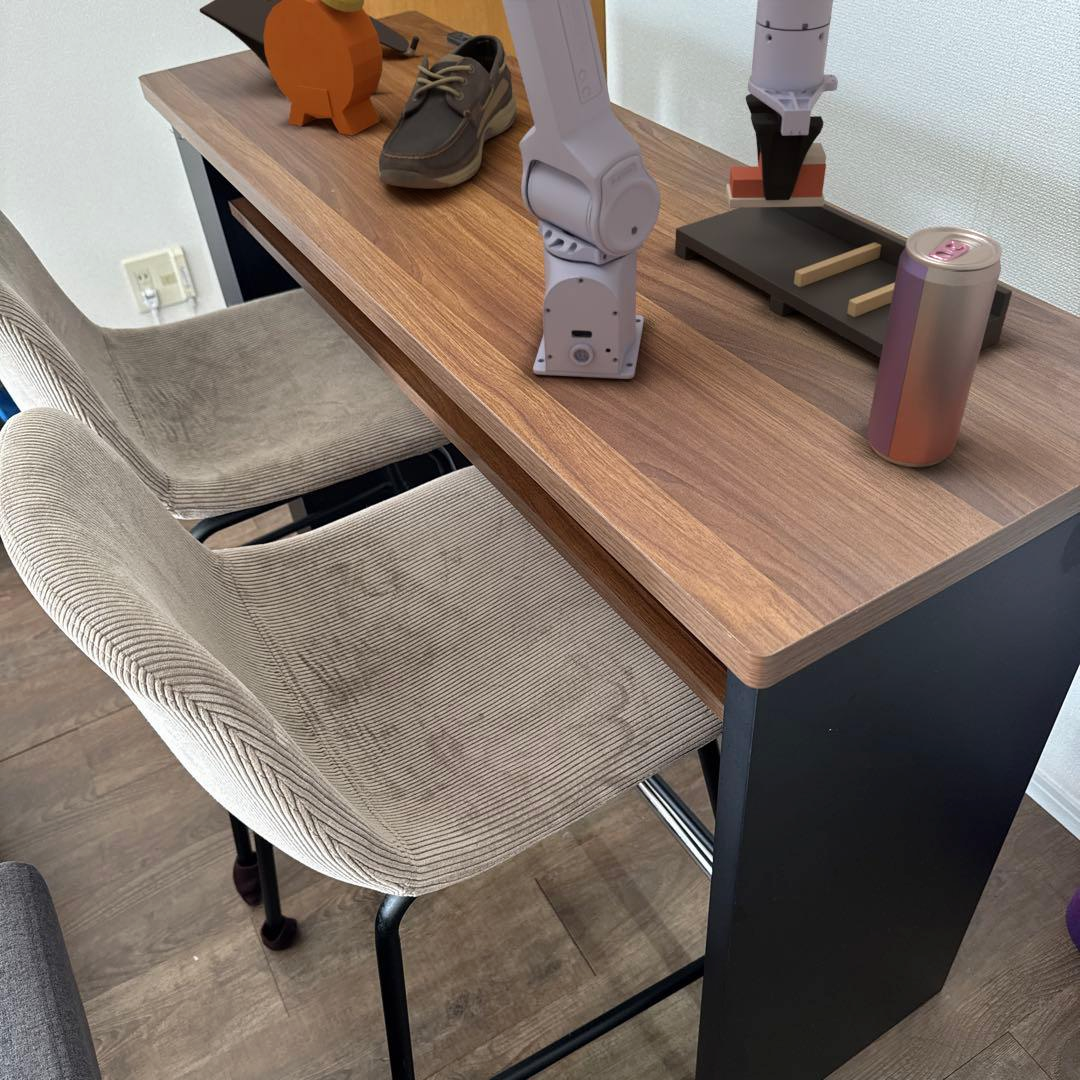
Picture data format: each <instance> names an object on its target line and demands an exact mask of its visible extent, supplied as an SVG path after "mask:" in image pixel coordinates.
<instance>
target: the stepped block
mask: <svg viewBox="0 0 1080 1080" xmlns="http://www.w3.org/2000/svg"><path fill="white" fill-rule="evenodd" d="M826 161H827V155H826V152H825V150H824V147H823V144H822V143H821V142H813V144H812V145H811V147H810V149H809V151H808V152H807V154H806V157H805V159H804V161H803V164H802V167H801V169H800V172H799V175H798V179H797V182H796V185H795V188H794V190H793V193H792V195H791V197H790V199H789V200H766V199H765V195H764V190H763V181H762V161H761V153H760V157H759V166H758V165H757V166H730V170H729V183H727V184H726V188H725V189H726V191H725V192H726V193H725V194H726V198H727V199H726V200H727V203H728V208H729V209H737V208H749V207H814V206H823V205H824V204H825V196H824V192H823V191H824V186H825V185H824V184H825V177H826V176H825V175H826V169H827V163H826Z"/></svg>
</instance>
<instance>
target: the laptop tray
mask: <svg viewBox="0 0 1080 1080" xmlns="http://www.w3.org/2000/svg"><path fill="white" fill-rule="evenodd" d="M281 1H282V0H273V1H270V2H266V1H265V0H212V1H210V2H209V3H206V5H204V6H202V7H200V8H199V10H198V11H199V13H201V14H202V15H204V16H205V17H207V18H208V19H211V20H213V21H214V22H215V23H217V24H218V25H220V26H221V27H223V28H225V29H226V30H227V31H229V32H230V33H231V34H233V35H234V36H235V37H236V38H237V39H238V40H240V41H241V42H242V43H243V44H244V45H245V46H247V48H248V49H249V50H250V51H252V52H253V53H254V54H255V56H257V57H258V58H259V60H260V61H261V62H262V63H263V64H264V65H265V66H266V67H267V69H268V70H269V71H270V68H269V65H268V62H267V58H266V55H265V48H264V36H263V35H264V29H265V23H266V19H267V17H268V15H269V13H270V12H271V10H272V8H273V7H274V6H275V5H277V4H278V3H279V2H281ZM367 15H368V16H369V18H370V20H371V22H372V24H373V26H374V28H375V30H376V32H377V34H378V38H379V42H380V45H382V46H384V47H387V48H389V49H391V50H393V51H395V52H396V53H399V54H401V55H403V56H405V57H412V56H413V55H414V54H415V53H416V50H417V47H418V45H419V42H420V37H418V36H417V35H414V36H413V37H412V40H411V43H409V41H408V39H407V38H406V37H405V36H403V35H402V34H400V33H399V32H397V31H396V30H395V29H392V28H391V27H389V26H387V25H386V24H384V22H383V23H382V22H381V21H379V20H377V19H376V18H374V17H373V16H371V15H369V14H368V13H367ZM377 88H378V87H377ZM377 88H376V90H375V91H374V93H375V92H376V91H377Z"/></svg>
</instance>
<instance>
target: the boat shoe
mask: <svg viewBox="0 0 1080 1080" xmlns="http://www.w3.org/2000/svg"><path fill="white" fill-rule="evenodd" d="M507 58H508V57H507V52H506V50H505V47H504V44H503V42H502V41H501V39H500V38H498V37H497V36H496V35H492V34H477V35H474V36H472V37H469V38H468V39H466V40H464V41H463V42H461V44H459V45H458V46H457V47H455V48H454V49H452V50H451V51H450V52H449V53H448V54H446V55H444V56H442V57H440V58H439V59H438V60H437V61H435V62H434V63H433V65H432V66H431V67H430V65H429V58H428V57H427V56H426V55H425V56H423V58H422V61H421V64H418V65H417V69H418V74H417V77H416V81H415V83H414V85H413V87H412V90H411V92H410V95H409V97H408V99H407V102H406V103H405V106H404V107H403V109H402V110H401V112H400V113H399V114H400V115H399V117H398V118H397V122H396V124H395V126H394V127H393V129H392V130H391V132H390V133H389V134H388V136H387V138H386V139H385V141H384V142H383V145H382V149H381V151H380V153H379V154H380V155H379V159H378V165H377V174H378V179H379V181H380V182H382V183H383V184H385V185H390V186H394V187H395V186H396V187H400V188H411V189H416V188H417V189H445V188H451V187H455V186H457V185H459V184H462V183H464V182H466V181H468V180H470V179H471V178H472V177H474V176H475V175H476V174H477V172H478V171H479V169H480V167H481V164H482V159H483V157H482V155H483V148H484V144H485V142H487V141H488V140H489V139H492V138H493V137H496V136H499V135H500V134H501V135H502V134H503V133H504V132H505V131H507V130H508V129H509V128H510V127H511V126H512V125H513V124H514V122H515V120H516V115H517V111H518V110H517V109H518V106H517V105H518V104H517V99H516V96H515V93H514V91H513V83H512V72H511V71H510V69H509V67H508V64H507Z"/></svg>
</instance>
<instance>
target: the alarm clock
mask: <svg viewBox="0 0 1080 1080" xmlns="http://www.w3.org/2000/svg"><path fill="white" fill-rule="evenodd" d="M265 1H266V2H270V1H273V0H265ZM364 4H365V0H282V1H281V2H279V3H278V4H277V5H275V6H274V7H273V8H272V10H271V12H270V13H269V15H268V17H267V19H266V23H265V29H264V35H263V36H264V48H265V55H266V58H267V62H268V65H269V68H270V70H269V71H270V74H271V75H272V77H273V79H274V81H275V83H276V85H277V87H278V88H279V90H280V91H281V93H282V94H283V95H284V96H285V97H286V99H287V100H288V101H289V102H290V103H291V104H290V112H289V119H288V124H289V125H294V126H299V127H302V126H304V125H307V124H309V123H310V122H312V121H315V120H316V119H331V120H332V122H333V124H334V126H335V128H336V130H337V131H338V134H342V135H348V136H354V135H357V134H358V133H360V132H363V131H364V130H366V129H368V128H370V127H371V126H374V125H376V124H378V123H379V122H381V120H380V118H379V115H378V113H377V111H376V109H375V107H374V105H373V103H372V100H371V97H372V95H373V94H374V93H375V92H376V91H377V89H376V88H378V87H379V83H380V80H381V78H382V73H383V49H382V46H381V44H380V42H379V38H378V34H377V32H376V30H375V28H374V26H373V24H372V22H371V20H370V18H369V16H370V15H369V14H368V13H367V12H366V11H365V10H364V8H363V7H364ZM367 14H368V15H369V16H368V15H367ZM375 90H376V91H375ZM374 91H375V92H374Z"/></svg>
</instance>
